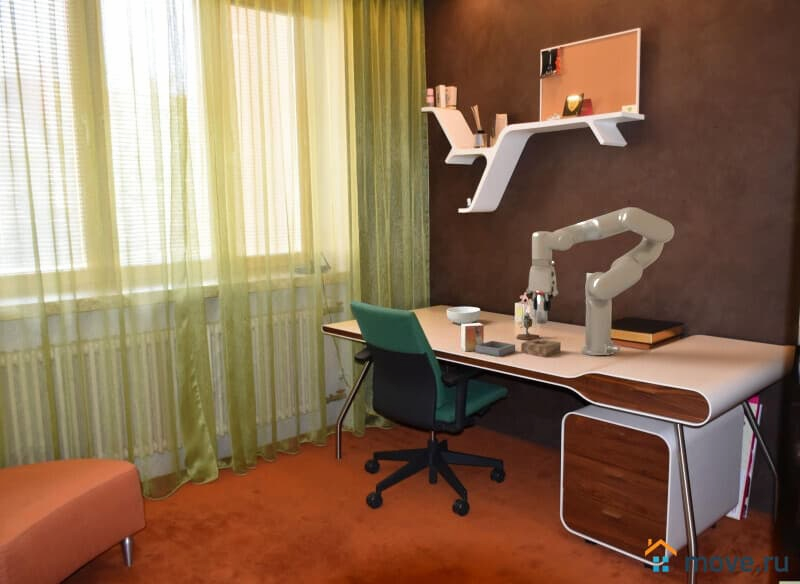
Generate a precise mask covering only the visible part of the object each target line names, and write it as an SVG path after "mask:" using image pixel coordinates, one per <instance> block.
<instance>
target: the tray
mask: <svg viewBox="0 0 800 584" xmlns="http://www.w3.org/2000/svg"><path fill="white" fill-rule="evenodd" d="M515 352H516V344H514V343H509V342H502V341H497V340H490V341H487V342H484V343H482V344H479V345H476V351H475V353H476V354H482V355H486V356H492V357H497V358H501V357H503V356H507V355H510V354H513V353H515Z"/></svg>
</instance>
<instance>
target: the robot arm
mask: <svg viewBox="0 0 800 584" xmlns="http://www.w3.org/2000/svg"><path fill="white" fill-rule="evenodd" d="M627 231H632V232H634V233H636V234H638V235H640V236H642V239H641V242H640V243H639V244H638V245H636V246H635V247H634V248H632V249H631V250H630V251H628V252H626V253H625V254H623V255H622V256H620V257H619V258H617V259H615V260H614V261H613V262H612V264H611V266H610V269H608V270H607V271H606V272H602V271H596V272H594V273H591V274H590V275H589V276H588V277H587V279H586V281H585V287H584V288H585V290H584V291H585V339H584V340H585V341H584V342H585V343H584V346H583V347H582V348H581V349H580V351H581V353H582V354H584V355H588V356H595V355H607V356H609V355H608V354H612V353H614V352H618V353H619V352H620V350H621V347H620V345H615V344H614V341H612V340H611V339H612V335H611V334H612V311H613V310H612V309H613V308H612V307H613V306H612V305H613V304H612V299H613V298H615V297H616V296H618V295H619V294H621V293H623V292H624V291H626V290H627V289H629V288H631V287H632V286H634V285H636V284H637V282H639V280H640V279H642V275H643V271H644V269H646V268H647V267H648V266H650V265H651V264H653V263H654V262H655V261H656V260H657V259H658V258H659V257H660V255H661V254H662V251H663V248H664V244H666V243H668V242H670V241H671V240H672V239H673V237H674V236H675V228H674V225H672V223H671V222H670V221H668V220H665V219H664V218H662V217H659V216H657V215H654V214H652V213H650V212H647V211H645V210H643V209H642V208H639V207H633V206H632V207H630V206H629V207H624V208H621V209H617V210H615V211H611V212H609V213H606V214H603V215H599V216H596V217H593V218H590V219H587V220H585V221H581V222H578V223H575V224H572V225H568V226H565V227H563V228H562V227H561V228H560V229H556V230H554V231H553V232H550V231H547V230H546V231H545V230H544V231H541V230H540V231H535V232H533V233H532V236H531V258H532V259H531V266H530V270H529V276H528V286H527V287H526V288H527V289H526V290H525V292H526V293H527V294H529V296H530V297H531V298H532V300H533V310H534V311H537V293H535V292H536V291H542V292H544V293H545V299H546V301H544V310H545V311H547V312H548V311H550V310H551V307H552V306H551V302H552V300H553V299H554V298H555V297H556V296H557V295H558V294H559V291H558V289H557V276H556V271H555V267H554V266H553V265H555V263H556V262H555V260H553V250H554V251H555V250H556V251H567V250H569V249H571V247H572V246H573V245H576V244H578V243H583V242H586V241H598V240H603V239H605V238H608V237H611V236H615V235H617V234H621V233H624V232H627ZM614 354H615V353H614ZM612 355H613V354H612Z"/></svg>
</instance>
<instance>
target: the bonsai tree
mask: <svg viewBox="0 0 800 584" xmlns="http://www.w3.org/2000/svg"><path fill="white" fill-rule="evenodd" d="M530 314H531V312H530V311H528V312H526V313H525V314H524V315H523V326H519V329H522V328H524V329H525V332H526V333H520V334H517V336H516V340H519V341H520V340H521V341H524V342H527V341H530V340H533V339H540V334H534V333H530V331H529V329H530V328H532V326H533V319H532V318H531V315H530Z"/></svg>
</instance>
